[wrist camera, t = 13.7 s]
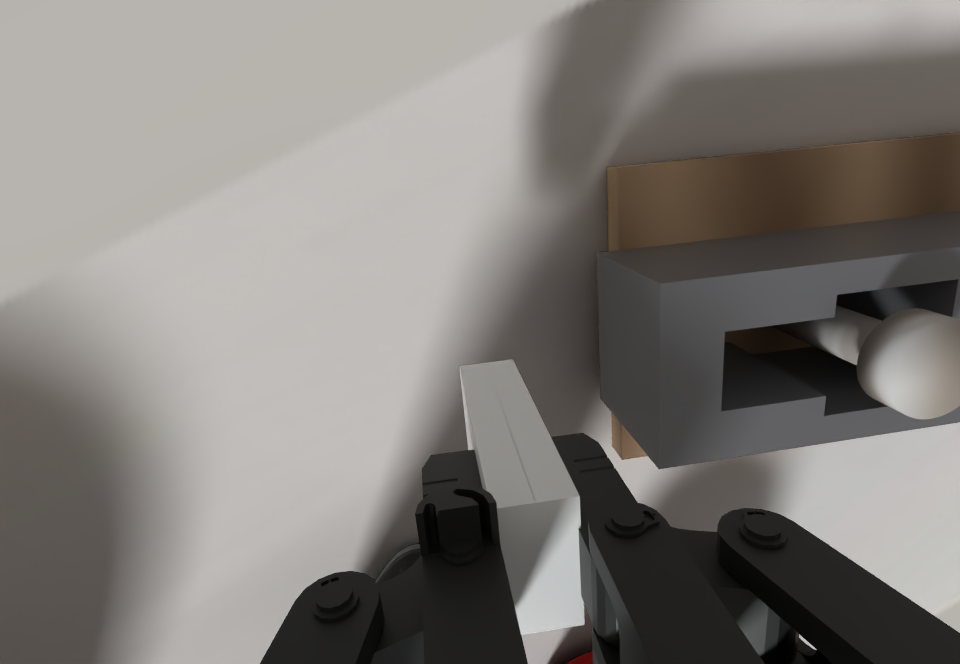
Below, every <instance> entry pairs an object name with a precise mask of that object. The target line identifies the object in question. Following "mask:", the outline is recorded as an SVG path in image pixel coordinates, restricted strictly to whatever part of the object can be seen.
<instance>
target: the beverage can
mask: <svg viewBox="0 0 960 664" xmlns="http://www.w3.org/2000/svg"><path fill="white" fill-rule="evenodd" d="M567 664H593V651H592V652H589V653H586V654H584V655H581V656H579V657H577V658H575V659H573V660H572V661H570V662H569V663H567Z"/></svg>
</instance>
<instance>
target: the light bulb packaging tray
mask: <svg viewBox="0 0 960 664" xmlns="http://www.w3.org/2000/svg"><path fill="white" fill-rule="evenodd" d="M597 287H598V324H599V362H600V398H601V400H602V401H603V402H604V403H605V404H606V406H607V407H608V408H609V409H610V411H611V412H612V413H613V414H614V415H615V417H616V418H617V419H618V420H619V421H620V423H621V424H622V425H623V426H624V427H625V429H626V430H627V431H628V432H629V434H630V435H631V436H632V437H633V438H634V440H635V441H636V442H637V443H638V444H639V446H640V447H641V448H642V449H643V450H644V452H645V453H646V454H647V455H648V457H649V458H650V459H651V460H652V461H653V463H654V464H655V465H656V466H657V467H658V469H663V468H670V467H676V466H682V465H689V464H695V463H702V462H708V461H714V460H721V459H727V458H734V457H740V456H746V455H753V454H759V453H766V452H772V451H778V450H785V449H791V448H798V447H804V446H810V445H817V444H823V443H830V442H836V441H842V440H849V439H855V438H862V437H868V436H874V435H881V434H887V433H894V432H900V431H906V430H913V429H919V428H926V427H932V426H938V425H945V424H951V423H958V422H960V406H959V407H957V408H956V409H954V410H953V411H951V412H949V413H947V414H945V415H943V416H940V417H937V418H933V419H915V418H911V417H909V416H906V415H905V414H903V413H901V412H899V411H897V410H895V409H893V408H891V407H889V406H887V405H885V404H883V403H881V402H879V401H877V400H875V399H873V398H871V397H870V396H869V395H867V394H866V393H865V392H864V390H863V389H862V387H861V386H860V384H859V381H858V377H857V365H855V364H852V363H850V362H848V361H846V360H844V359H841V358H839V357H837V356H835V355H832V354H830V353H828V352H826V351H824V350H821V349H819V348H817V347H815V346H812V347H805V348H798V349H790V350H783V351H776V352H769V353H761V354H754V355H752V354H750V353H748V352H746V351H745V350H743V349H741V348H739V347H738V346H736V345H734V344H732V343H730V342H726V343H724V339H725V332H728V331H735V330H743V329H750V328H758V327H765V326H773V325H780V324H788V323H795V322H803V321H810V320H818V319H825V318H833V317H835V309H836V305H837V306H840V307H843V308H846V309H849V310H852V311H855V312H858V313H861V314H864V315H867V316H870V317H872V318H875V319H878V320H881V321H883V320H884V319H886V318H887V317H889V316H891V315H892V314H895V313H897V312H899V311H902V310H906V309H914V308H918V309H925V310H929V311H932V312H935V313H939V314H942V315H946V316H949V317H953V318H956V319H960V211H954V212H945V213H936V214H928V215H919V216H911V217H902V218H893V219H885V220H876V221H867V222H859V223H850V224H841V225H833V226H824V227H815V228H807V229H798V230H789V231H781V232H772V233H763V234H755V235H746V236H738V237H729V238H720V239H712V240H703V241H694V242H686V243H677V244H668V245H660V246H651V247H642V248H634V249H625V250H616V251H608V252H599V253H597Z"/></svg>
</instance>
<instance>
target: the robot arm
mask: <svg viewBox="0 0 960 664" xmlns="http://www.w3.org/2000/svg"><path fill="white" fill-rule="evenodd" d="M459 368H460V378H461V387H462V396H463V406H464V415H465V424H466V433H467V443H468V450H467V451H460V452H452V453H445V454H438V455H431V456H430V458H429V459H428V461H427V462H426V464H425V465H424V467H423V468H422V481H423V500H422V501H421V502H420V503H419V504H418V507H417V510H416V513H415V516H416V522H417V529H418V536H419V543H420V550H421V555H420V557H419V558H418V560H417V561H416V562H415V563H414V564H413V565H412V566H411V567H410V568H408V569H407V570H406V571H404V572H403V573H401V574H399V575H397V576H395V577H394V578H392V579H389V580H387V581H384V582H382V583H379V584H376V582H375V580H374V579H372V578H371V577H369V576H368V575H366V574H365V573H359V572H353V571H347V572H339V573H334V574H331V575H328V576H326V577H323V578H321V579H318V580H317V581H316V582H314V583H313V584H311V585H310V586H309V587H307V588H306V589H305V590H304V591H303V592H302V593H301V594H300V596H299V597H298V598H297V599H296V601H295V602H294V604H293V606H292V607H291V609H290V611H289V613H288V615H287V616H286V618H285V620H284V622H283V624H282V625H281V627H280V629H279V631H278V632H277V634H276V636H275V638H274V640H273V641H272V643H271V645H270V647H269V649H268V650H267V652H266V654H265V656H264V657H263V659H262V661H261V663H260V664H528V663H527V658H526V654H525V650H524V645H523V641H522V637H521V635H526V634H532V633H538V632H544V631H550V630H556V629H562V628H568V627H574V626H580V625H585V620H584V604H585V607H586V609H587V612H588V615H589V617H590V620H591V622H592V649H593V664H960V633H959V632H957V631H956V630H954V629H953V628H951V627H950V626H948V625H947V624H945V623H944V622H942V621H941V620H940V619H938V618H937V617H935V616H934V615H932V614H931V613H929V612H928V611H926V610H925V609H923V608H922V607H920V606H919V605H917V604H916V603H914V602H913V601H911V600H910V599H908V598H907V597H905V596H904V595H902V594H901V593H899V592H898V591H896V590H895V589H893V588H892V587H890V586H889V585H887V584H886V583H884V582H883V581H881V580H880V579H878V578H877V577H875V576H874V575H872V574H871V573H869V572H868V571H867V570H865V569H864V568H862V567H861V566H859V565H858V564H856V563H855V562H853V561H852V560H850V559H849V558H847V557H846V556H844V555H843V554H841V553H840V552H838V551H837V550H835V549H834V548H832V547H831V546H829V545H828V544H826V543H825V542H823V541H822V540H820V539H819V538H817V537H816V536H814V535H813V534H811V533H810V532H808V531H807V530H805V529H804V528H802V527H801V526H799V525H798V524H796V523H795V522H793V521H792V520H790V519H788V518H786V517H784V516H782V515H780V514H777V513H774V512H770V511H766V510H763V509H750V508H744V509H738V510H733V511H730V512H728V513H727V514H725V515H724V516H722V517H721V519H720V521H719V523H718V529H717V532H705V531H691V530H684V529H677V528H673V527H670V526H669V524H668V523H667V521H666V520H665V518H664V517H662V516H661V515H660V514H659V513H658V512H657V511H656V510H654V509H652V508H650V507H648V506H646V505H644V504H640V503H637V501H636V500H635V498H634V497H633V495H632V494H631V492H630V491H629V489H628V487H627V486H626V484H625V483H624V481H623V480H622V478H621V477H620V475H619V473H618V472H617V470H616V469H614V466H613V464H612V463H611V461H610V460H609V458H607V455H606V453H605V452H604V450H603V449H602V447H601V446H600V444H599V443H598V442H597V441H595V440H593V439H592V438H590V437H589V436H587V435H585V434H584V433H579V434H571V435H564V436H557V437H551V436H550V434H549V432H548V430H547V428H546V426H545V424H544V422H543V420H542V418H541V416H540V414H539V412H538V410H537V408H536V406H535V404H534V402H533V400H532V398H531V396H530V394H529V391H528V389H527V387H526V385H525V383H524V381H523V379H522V377H521V375H520V373H519V371H518V369H517V367H516V365H515V363H514V361H513V359H511V360H503V361H495V362H487V363H479V364H471V365H463V366H459ZM799 634H800V635H801V636H802V637H803V638H804V639H806V640H807V641H808V642H809V643H810V644H811V645H812V646H814V647H815V648H816V649H817V650H814V649H812V648H811V647H809V646H808V645H807V644H805V643H804V642H803V641H802V640H801V639H800V638H799Z"/></svg>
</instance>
